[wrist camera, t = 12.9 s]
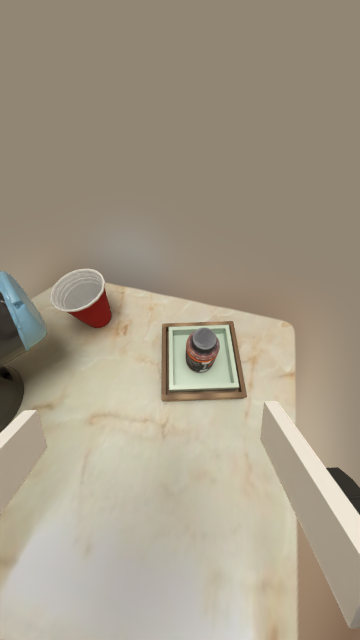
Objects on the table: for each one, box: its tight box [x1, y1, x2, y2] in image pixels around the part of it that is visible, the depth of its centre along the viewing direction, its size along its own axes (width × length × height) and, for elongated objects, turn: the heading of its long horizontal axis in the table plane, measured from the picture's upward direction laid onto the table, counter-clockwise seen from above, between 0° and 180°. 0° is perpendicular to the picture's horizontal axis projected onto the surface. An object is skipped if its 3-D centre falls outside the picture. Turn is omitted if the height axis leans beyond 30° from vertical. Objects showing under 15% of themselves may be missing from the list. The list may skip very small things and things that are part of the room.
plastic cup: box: [50, 269, 111, 328], centre depth 44 cm, size 11×11×12 cm
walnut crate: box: [162, 321, 247, 401], centre depth 43 cm, size 16×16×3 cm
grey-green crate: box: [169, 325, 239, 393], centre depth 42 cm, size 13×13×4 cm
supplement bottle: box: [186, 327, 220, 373], centre depth 37 cm, size 6×6×11 cm
